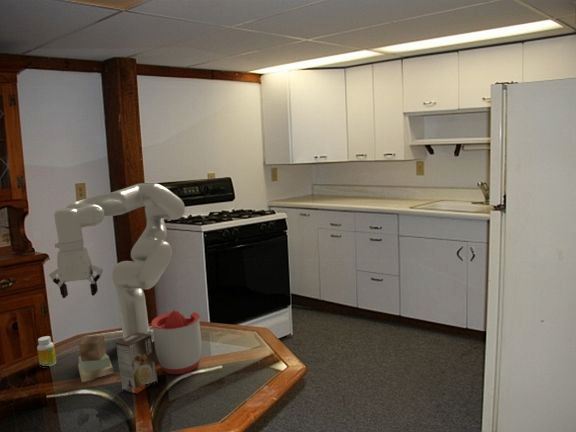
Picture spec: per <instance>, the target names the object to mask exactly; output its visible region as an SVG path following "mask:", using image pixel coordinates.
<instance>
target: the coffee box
mask: <svg viewBox="0 0 576 432" xmlns="http://www.w3.org/2000/svg"><path fill="white" fill-rule="evenodd" d="M153 346H154V345H153V343H152V338H151V335H150V334H145V333H139V332H137V333H135V334H132V335H130V336H128V337H126V338H122V339H120V340H119V341H118V340H117V341H116V342H115V348H116V354H117V360H118V368H119V373H120V374H119V375H120V381H121V388H122V390H123V389H129V388H131V389H132V388H135V389H136V388H137V387H139V386H142V385H145V384H149V383H152V382H155V381H157V382H158V375H157V369H156V368H157V367H156V362H155V361H156V360H155V353H154V347H153Z"/></svg>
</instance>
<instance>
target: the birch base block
mask: <svg viewBox="0 0 576 432" xmlns="http://www.w3.org/2000/svg"><path fill="white" fill-rule="evenodd" d="M77 365H78V372H79V376H80V377H79V378H80V380H81V383H84V382H89V381H93V380H96V379H95V378H96V377H99V376H101V375H105V374H110V373H114V368H113V365H112V362H111V361H110V366H108V367H105V368H102V369H98V370H95V371H92V372H89V373H85V372H84V370H83V369H82V368H81V366H80V364H79V363H78V364H77ZM114 374H115V373H114Z"/></svg>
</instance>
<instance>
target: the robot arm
mask: <svg viewBox="0 0 576 432" xmlns="http://www.w3.org/2000/svg"><path fill="white" fill-rule="evenodd" d="M141 207H144V211H145V212H144V213H145V218H146V227H145V229H144V230H143V232H142V234H141V235H140V236H139V238H138V239H137V240H136V242H135V243H134V245H133V247H132V248H131V250H130V258H131V259H132V260H131V261H130V260H123V261H120V262H118V263H116V265H114V267H113V269H112V272H111V278H112V282H113V285H114V287H115V291H116V295H117V299H118V300H117V301H118V306H119V315H120V322H121V328H122V329H121V330H122V337H123V338H122V339H124V338H126V337H128V336H130V335H132V334H135V333H137V332H139V333H145V334H150V335H151V338H152V344H153V343H154V335H153V328H150V326H149V320H148V318H149V317H148V311H147V310H148V309H147V303H146V296H145V292H144V290H151V288H153V287H154V286H156V284H157V283H158V281H159V280H160V278H161V276H162V275H163V273H164V272H165V270H166V269H167V267H168V265H169V264H170V262H171V259H172V256H173V251H172V250H173V249H172V246H171V244H170V243H169V242H167V241H166V239H167V233H168V231H167V226H166V223H165V220H172V221H174V220H180V219H181V218H182V217H183V216H184V214H185V212H186V210H185V209H186V208H185V207H186V206H185V203H184V201H183V200H182V199H181V197H178V195H177V194H174V192H172V191H171V190H169V189H168V188H167V187H165V186H163V185H161V184H159V183H154V182H153V183H151V182H150V183H136V184H133V185H130V186H128V187H125V188H122V189H117V190H115V191H112V192H108V193H103V194H100V195H96V196H91V197H87V198H83V199H80V200H77V201H74V202H72V203H70V204H68V205H67V206H66V207H65V208H60V209H57V210H55V212H54V214H53V216H54V224H55V228H56V229H55V230H56V233H57V234H56V235H57V240H58V242H57V243H55V244H54V247H55V248H56V249H59V250H58V251H57V255H56V256H57V257H56V258H57V259H56V261H57V262H56V263H57V269H55V270H54V271H52V272H51V273H49V275H48V277H50V279H51V280H52V282H53V283H55V284H56V285H57V287H58V288H59V290H60V295H61V297H62V299H65V298H66V297H67V296H68V295H69V292H68V286H67V283H68V282H76V281H85V280H87V281H89V282H90V284H89V288H90V295H91V296H92V297H93V296H95V295H96V294H97V293H98V284H97V283H98V280H99V279H100V278H101V276H102V273H103V271H104V270H103V268H102V267H98V266H97V265H94V264H92V260H91V257H90V253H89V250H88V249H87V247H85V242H84V237H83V228H88V227H89V228H90V227H94V226H95V227H96V226H98V225H99V224H101V223H102V222H103V221H104V219H105V217H115V216H121V215H124V214H126V213H129V212H131V211H134V210H137V209H139V208H141ZM94 272H96V275H94ZM57 276H58V277H57ZM66 282H67V283H66Z"/></svg>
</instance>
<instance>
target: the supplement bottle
mask: <svg viewBox="0 0 576 432" xmlns="http://www.w3.org/2000/svg"><path fill="white" fill-rule="evenodd" d="M37 343H38V345H37V346H36V350H37V356H38V363H39V366H40V365H42V366H49V367H52V366H55V364H56V363H57V357H56V350H55V344H54V343H53V342H52V339H51V336H49V335H46V336H41V337H39V338H38V339H37Z"/></svg>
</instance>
